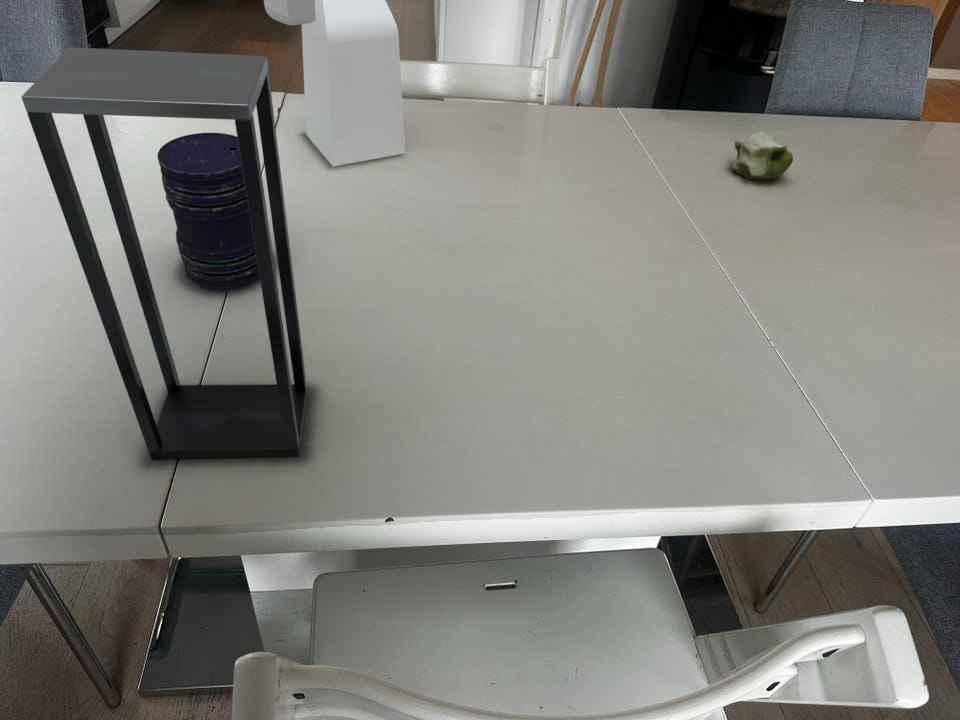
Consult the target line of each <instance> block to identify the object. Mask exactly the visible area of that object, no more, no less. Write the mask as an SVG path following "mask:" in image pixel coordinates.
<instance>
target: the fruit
mask: <svg viewBox="0 0 960 720" xmlns="http://www.w3.org/2000/svg"><path fill="white" fill-rule="evenodd" d="M734 149H735V150H736V152H737V153H736V160H735V161H734V162H733V164H732V165H731V168H732V170H734V171H735V173H737V174H738V175H739V176H740V177H743V178H746V179H749V180H754V181H768V180H769V181H770V180H773V179H775V178H778V177H780V176H781V175H782V174H784V173H785V172H787V170H788V169H789V168H790V167H791V165H792V164H793V161H794V155H793V153H792V152H791V151H789V150H788V146H787V145H782V144H780V143H779V142H778V141H777V140H776V139H774V137H773V136H772V135H769V134H767V133H766V132H764V131H758V132H756V133H751V134H749V135H748V136H747V137H745V138H744V137H739V138H737V139H735V140H734Z"/></svg>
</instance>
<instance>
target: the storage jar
mask: <svg viewBox="0 0 960 720" xmlns="http://www.w3.org/2000/svg"><path fill="white" fill-rule="evenodd" d="M156 156H157V161H158V165H159V167H160V173H161V183H162V187H163V190H164V192H165V200H166V201H167V204H168V206H169V208H170V209H171V210H172V213H173V218H174V221H175V227H176V230H175V241H176V245H177V246H178V247H177V248H178V252H179V257H180V259H181V261H182V264H183V266H184V273H185V276H186V279H187V280H188V281H189V283H191V284H192V285H193V286H195V287H197V288H199V289H201V290H205V291H209V292H219V293H220V292H221V293H222V292H223V293H224V292H233V291H238V290H243V289H245V288H250V287H251V286H253V285H256V284H257V283H258V282H260V276H259V270H258V263H257V257H256V251H255V245H254V238H253V232H252V226H251V220H250V213H249V207H248V201H247V195H246V188H245V182H244V176H243V169H242V163H241V157H240V151H239V144H238V138H237V135H233V134H229V133H223V132H198V133H191V134H187V135H182V136H179V137H176V138H174V139H171V140H169V141H167V142H166V143H164V144H163V145H162V146H161V147H160V148H159V150H158V151H157V155H156Z"/></svg>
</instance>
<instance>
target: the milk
mask: <svg viewBox="0 0 960 720" xmlns="http://www.w3.org/2000/svg"><path fill="white" fill-rule="evenodd" d="M315 11H316V20H315V21H314V22H313V23H308V24H301V45H302V46H301V47H302V65H303V84H304V85H303V87H304V88H303V90H304V111H305V113H304V114H305V135H306V137H307V138H308V140H310V142H311V143H312V144H313V145H314V147H316V148H317V150H318V151H319V152H320V154H322V155H323V157H324V158H325V159H326V160H327V162H328V163H329V164H330V166H332V167H339V166H344V165H350V164H355V163H360V162H366V161H372V160H377V159H382V158H383V159H384V158H388V157H394V156H398V155H403V154H406V144H405V143H406V141H405V125H404V124H405V123H404V108H403V107H404V106H403V105H404V104H403V87H402V69H401V53H400V52H401V51H400V35H399V29H398V25H397V23H396V20H395V18H394V15H393V13H392V11H391V8H390V7H389V5H388V3H387V1H386V0H315Z"/></svg>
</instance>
